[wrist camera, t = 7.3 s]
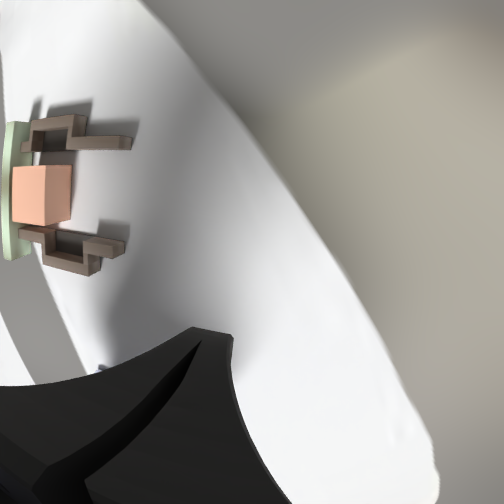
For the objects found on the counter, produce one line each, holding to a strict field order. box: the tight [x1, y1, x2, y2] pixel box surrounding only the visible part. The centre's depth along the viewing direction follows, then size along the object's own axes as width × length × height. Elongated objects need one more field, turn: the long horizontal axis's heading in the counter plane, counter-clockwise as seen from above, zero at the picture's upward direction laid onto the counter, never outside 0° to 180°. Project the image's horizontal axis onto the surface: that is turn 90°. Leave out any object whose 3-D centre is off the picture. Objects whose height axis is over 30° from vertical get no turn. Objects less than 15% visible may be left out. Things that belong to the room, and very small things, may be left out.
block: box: [12, 165, 72, 226], centre depth 17 cm, size 4×4×3 cm
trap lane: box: [1, 114, 132, 277], centre depth 17 cm, size 11×11×2 cm
